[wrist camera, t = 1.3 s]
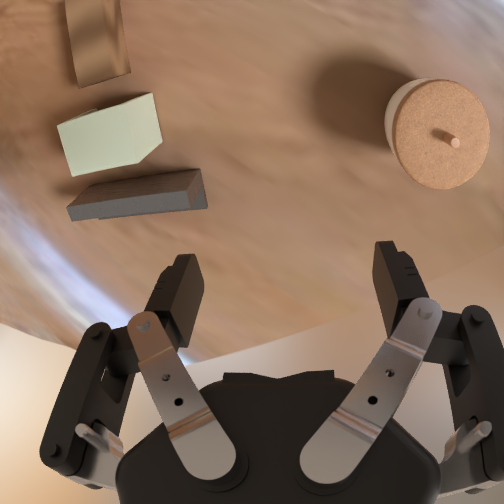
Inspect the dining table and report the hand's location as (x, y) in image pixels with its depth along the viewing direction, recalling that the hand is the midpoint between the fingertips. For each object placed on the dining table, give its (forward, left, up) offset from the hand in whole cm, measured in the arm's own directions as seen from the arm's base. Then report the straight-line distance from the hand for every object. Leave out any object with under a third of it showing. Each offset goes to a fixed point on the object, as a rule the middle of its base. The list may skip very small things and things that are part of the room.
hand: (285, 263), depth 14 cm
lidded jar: (-2, +15, -23) cm, 27 cm away
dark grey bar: (+6, -18, -23) cm, 29 cm away
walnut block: (-16, -18, -23) cm, 33 cm away
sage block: (-4, -18, -22) cm, 29 cm away
